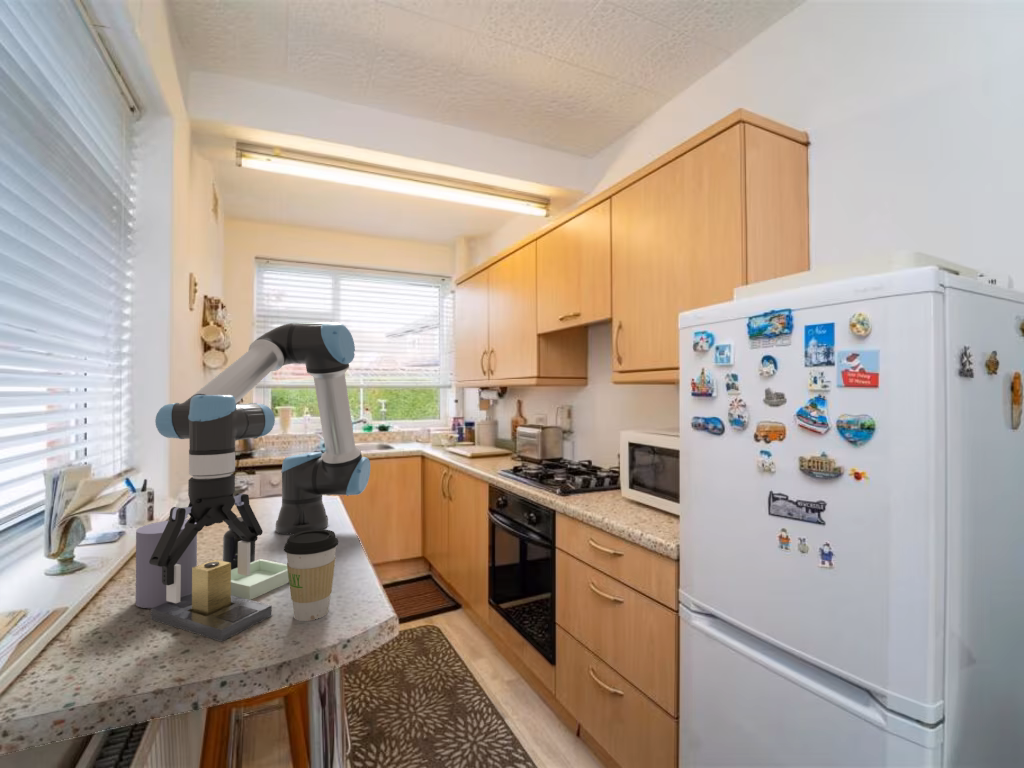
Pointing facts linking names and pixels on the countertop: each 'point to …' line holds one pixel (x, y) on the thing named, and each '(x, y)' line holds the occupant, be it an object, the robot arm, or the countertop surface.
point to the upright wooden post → (211, 587)
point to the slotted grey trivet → (212, 617)
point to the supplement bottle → (233, 547)
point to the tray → (258, 579)
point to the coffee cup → (311, 572)
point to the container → (150, 576)
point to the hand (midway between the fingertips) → (211, 586)
